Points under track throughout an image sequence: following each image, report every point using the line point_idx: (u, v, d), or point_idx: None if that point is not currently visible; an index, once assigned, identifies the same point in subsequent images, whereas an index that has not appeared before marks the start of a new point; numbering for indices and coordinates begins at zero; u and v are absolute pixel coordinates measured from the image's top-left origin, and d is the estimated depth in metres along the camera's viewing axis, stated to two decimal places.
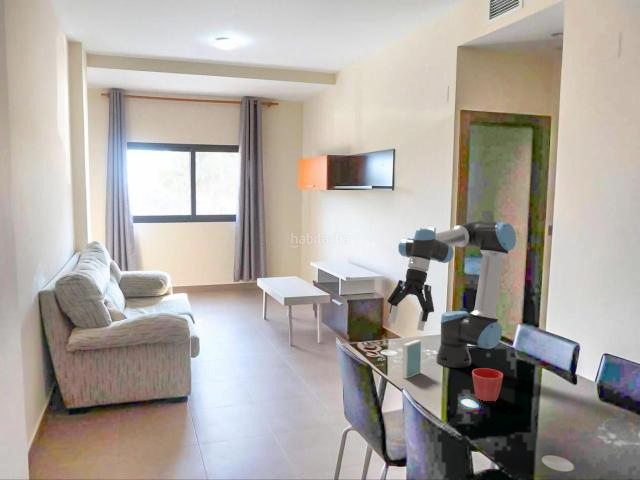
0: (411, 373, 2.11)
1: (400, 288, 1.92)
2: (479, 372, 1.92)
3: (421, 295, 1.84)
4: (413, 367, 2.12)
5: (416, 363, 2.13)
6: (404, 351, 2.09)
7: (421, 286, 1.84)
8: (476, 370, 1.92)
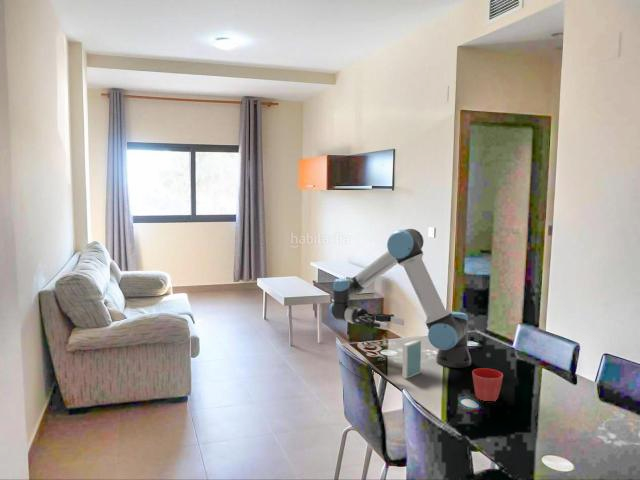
0: (411, 373, 2.11)
1: None
2: (479, 372, 1.92)
3: (366, 320, 2.24)
4: (413, 367, 2.12)
5: (416, 363, 2.13)
6: (404, 351, 2.09)
7: None
8: (476, 370, 1.92)
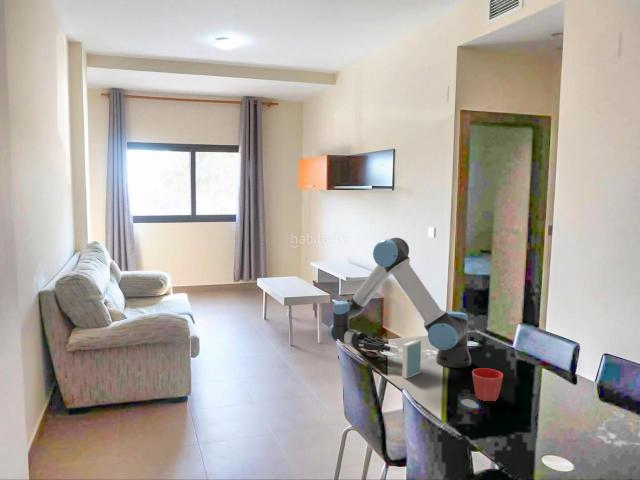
0: (411, 373, 2.11)
1: None
2: (479, 372, 1.92)
3: None
4: (413, 367, 2.12)
5: (416, 363, 2.13)
6: (404, 351, 2.09)
7: None
8: (476, 370, 1.92)
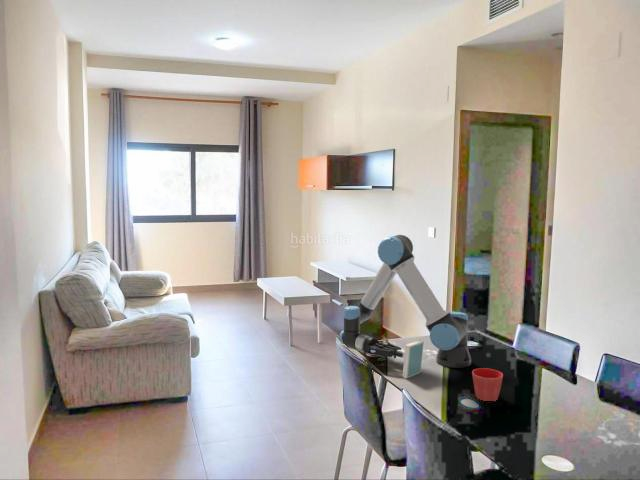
0: (411, 373, 2.11)
1: None
2: (479, 372, 1.93)
3: None
4: (414, 367, 2.11)
5: (417, 363, 2.13)
6: (406, 351, 2.08)
7: None
8: (476, 370, 1.92)
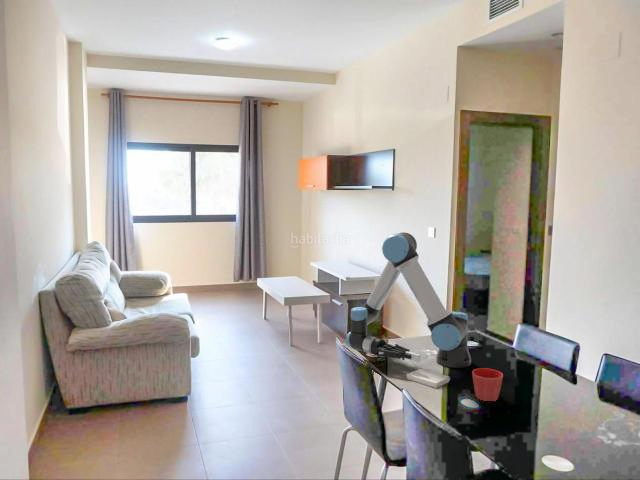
0: None
1: None
2: (479, 372, 1.93)
3: None
4: None
5: None
6: (429, 383, 2.01)
7: None
8: (476, 370, 1.92)
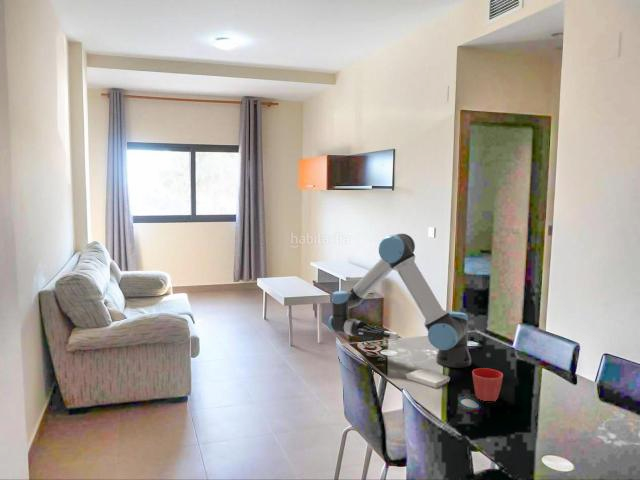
0: None
1: None
2: (479, 372, 1.92)
3: None
4: None
5: None
6: (429, 383, 2.01)
7: None
8: (476, 370, 1.92)
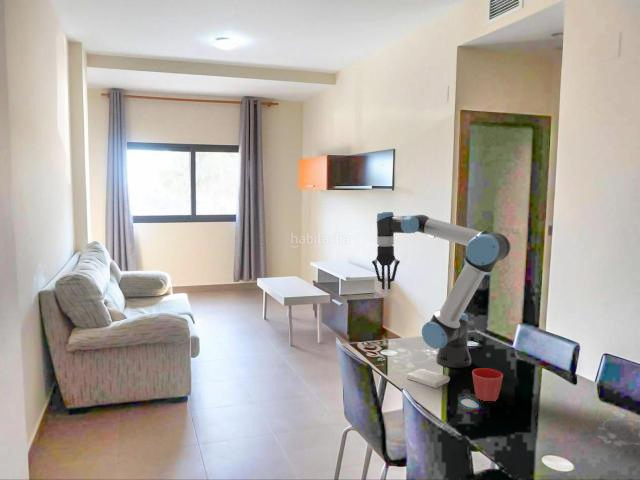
0: None
1: (394, 265, 2.33)
2: (479, 372, 1.92)
3: None
4: None
5: None
6: (429, 383, 2.01)
7: None
8: (476, 370, 1.92)
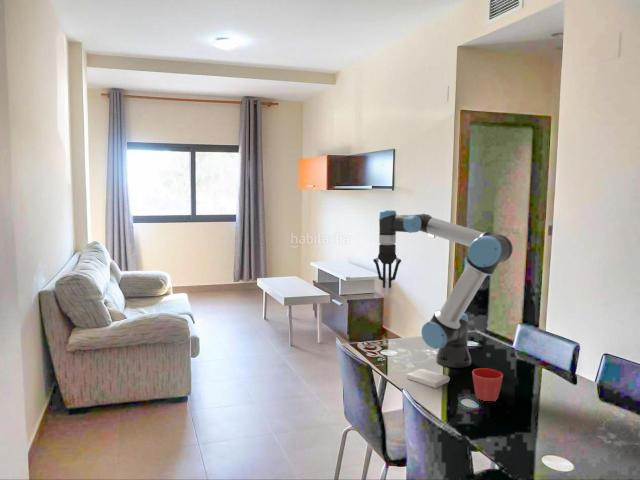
0: None
1: (396, 264, 2.33)
2: (479, 372, 1.92)
3: (383, 266, 2.34)
4: None
5: None
6: (429, 383, 2.01)
7: None
8: (476, 370, 1.92)
